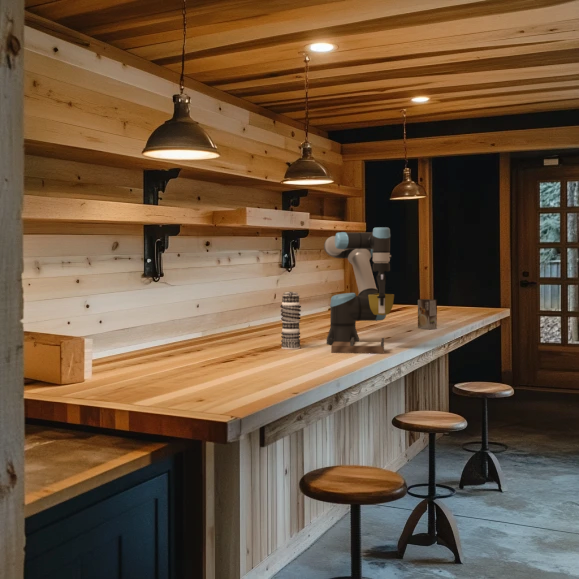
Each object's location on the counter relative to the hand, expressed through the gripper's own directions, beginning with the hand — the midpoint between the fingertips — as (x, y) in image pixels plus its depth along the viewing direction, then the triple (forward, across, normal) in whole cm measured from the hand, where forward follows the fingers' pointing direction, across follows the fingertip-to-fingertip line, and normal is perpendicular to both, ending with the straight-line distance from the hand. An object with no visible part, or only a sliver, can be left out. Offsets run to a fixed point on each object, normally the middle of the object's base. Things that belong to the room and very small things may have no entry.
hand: (381, 312), depth 326 cm
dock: (+16, -9, +10) cm, 21 cm away
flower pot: (+1, 0, 0) cm, 1 cm away
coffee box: (+16, +83, -29) cm, 89 cm away
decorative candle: (+16, -2, +40) cm, 43 cm away
